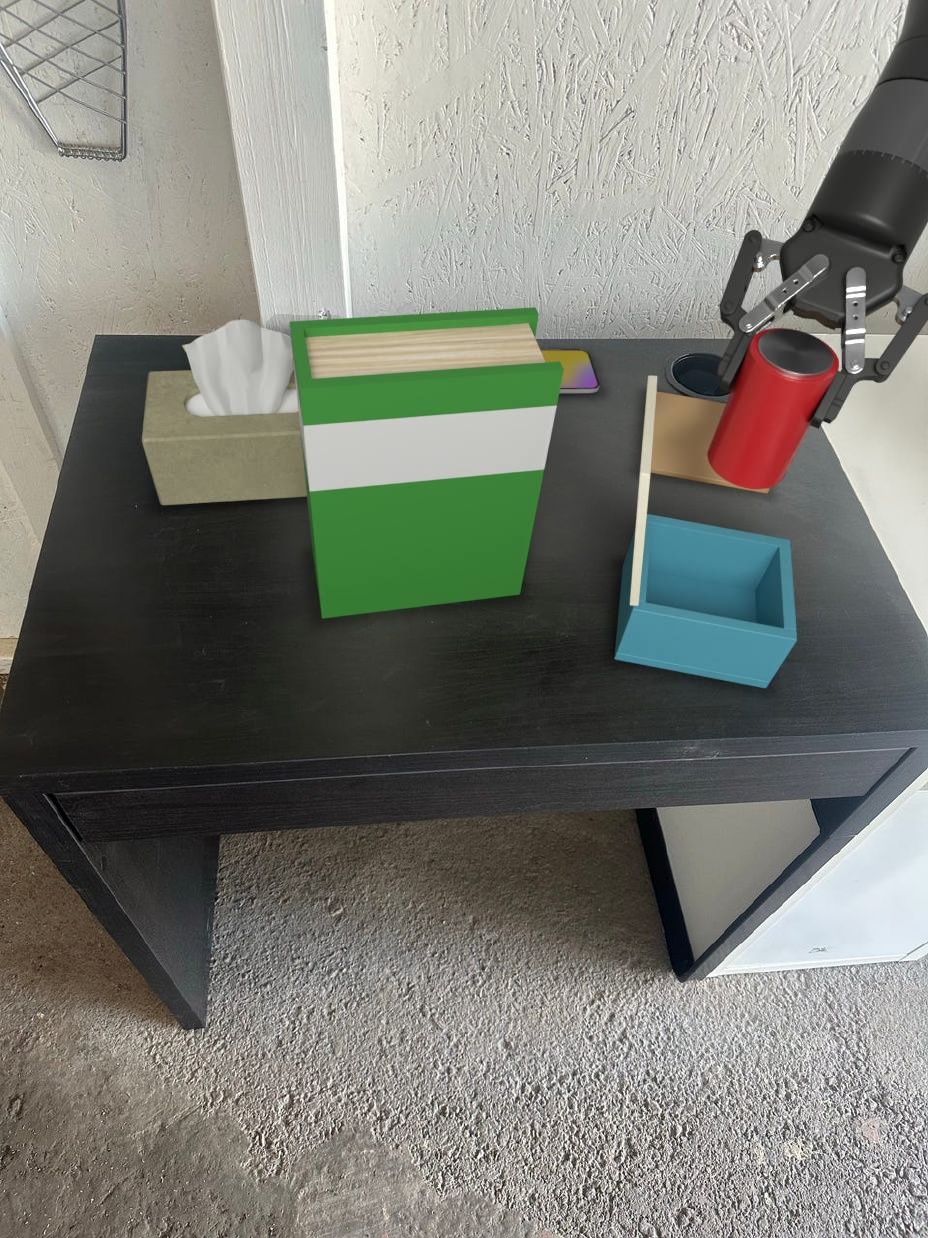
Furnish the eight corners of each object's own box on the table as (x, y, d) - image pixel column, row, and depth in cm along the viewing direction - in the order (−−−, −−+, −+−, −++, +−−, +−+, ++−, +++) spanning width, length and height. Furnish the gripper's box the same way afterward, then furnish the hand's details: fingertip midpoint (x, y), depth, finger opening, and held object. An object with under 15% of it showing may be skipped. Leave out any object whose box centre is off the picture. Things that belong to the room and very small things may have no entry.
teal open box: (762, 591, 79) (790, 539, 74) (766, 688, 72) (797, 640, 67) (622, 565, 80) (640, 512, 74) (614, 659, 73) (632, 609, 67)
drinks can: (783, 442, 69) (837, 332, 61) (787, 495, 65) (845, 386, 57) (707, 429, 69) (750, 318, 61) (706, 481, 66) (752, 370, 57)
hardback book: (500, 534, 81) (535, 307, 62) (519, 594, 77) (563, 369, 58) (312, 554, 78) (289, 321, 59) (322, 618, 73) (299, 388, 54)
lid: (657, 375, 63) (648, 374, 64) (650, 474, 57) (639, 473, 57) (645, 509, 74) (637, 508, 74) (638, 606, 67) (629, 605, 67)
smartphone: (601, 389, 95) (467, 389, 93) (600, 394, 95) (466, 395, 93) (588, 349, 99) (459, 349, 97) (587, 354, 100) (459, 354, 98)
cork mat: (763, 414, 95) (765, 409, 95) (767, 493, 87) (769, 489, 87) (647, 393, 96) (649, 389, 95) (641, 471, 88) (642, 466, 87)
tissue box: (350, 428, 89) (345, 289, 76) (359, 494, 83) (354, 355, 70) (162, 437, 86) (124, 294, 73) (157, 507, 80) (115, 364, 67)
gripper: (789, 116, 57) (672, 356, 59) (1011, 186, 53) (875, 438, 56) (784, 168, 64) (680, 380, 67) (979, 233, 60) (860, 454, 63)
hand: (769, 405), depth 61 cm, fingers closed on drinks can, 6 cm apart
